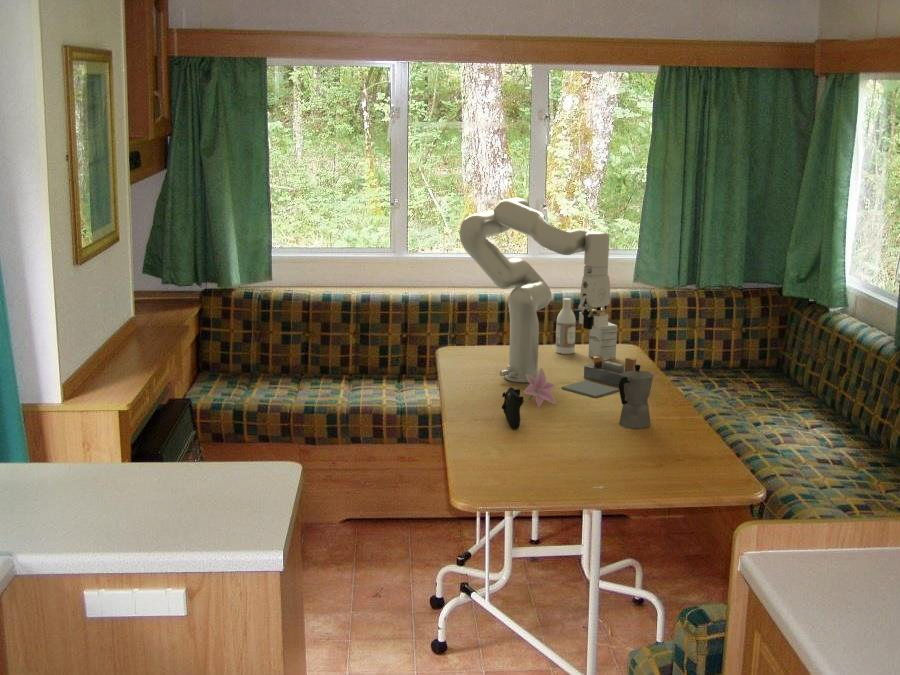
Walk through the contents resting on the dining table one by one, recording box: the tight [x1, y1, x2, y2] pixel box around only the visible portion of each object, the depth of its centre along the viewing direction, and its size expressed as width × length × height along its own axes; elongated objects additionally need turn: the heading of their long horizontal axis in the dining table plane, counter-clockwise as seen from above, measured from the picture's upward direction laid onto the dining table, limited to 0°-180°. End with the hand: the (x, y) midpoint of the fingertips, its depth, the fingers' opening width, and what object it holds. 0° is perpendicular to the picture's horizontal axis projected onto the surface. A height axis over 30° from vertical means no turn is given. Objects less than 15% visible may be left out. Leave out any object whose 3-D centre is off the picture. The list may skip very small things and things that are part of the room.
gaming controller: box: [501, 387, 525, 430], centre depth 325 cm, size 14×6×10 cm, turn 4°
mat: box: [561, 379, 620, 399], centre depth 362 cm, size 12×14×1 cm
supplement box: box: [588, 321, 618, 361], centre depth 401 cm, size 7×7×13 cm
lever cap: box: [578, 308, 610, 328], centre depth 356 cm, size 5×8×5 cm, turn 44°
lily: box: [523, 367, 557, 408], centre depth 346 cm, size 12×12×10 cm
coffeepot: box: [618, 364, 654, 430], centre depth 324 cm, size 15×9×18 cm, turn 137°
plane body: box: [583, 356, 637, 388], centre depth 371 cm, size 8×18×9 cm, turn 44°
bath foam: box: [555, 297, 577, 355], centre depth 408 cm, size 7×7×20 cm
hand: (593, 326), depth 357 cm, fingers closed on lever cap, 4 cm apart
